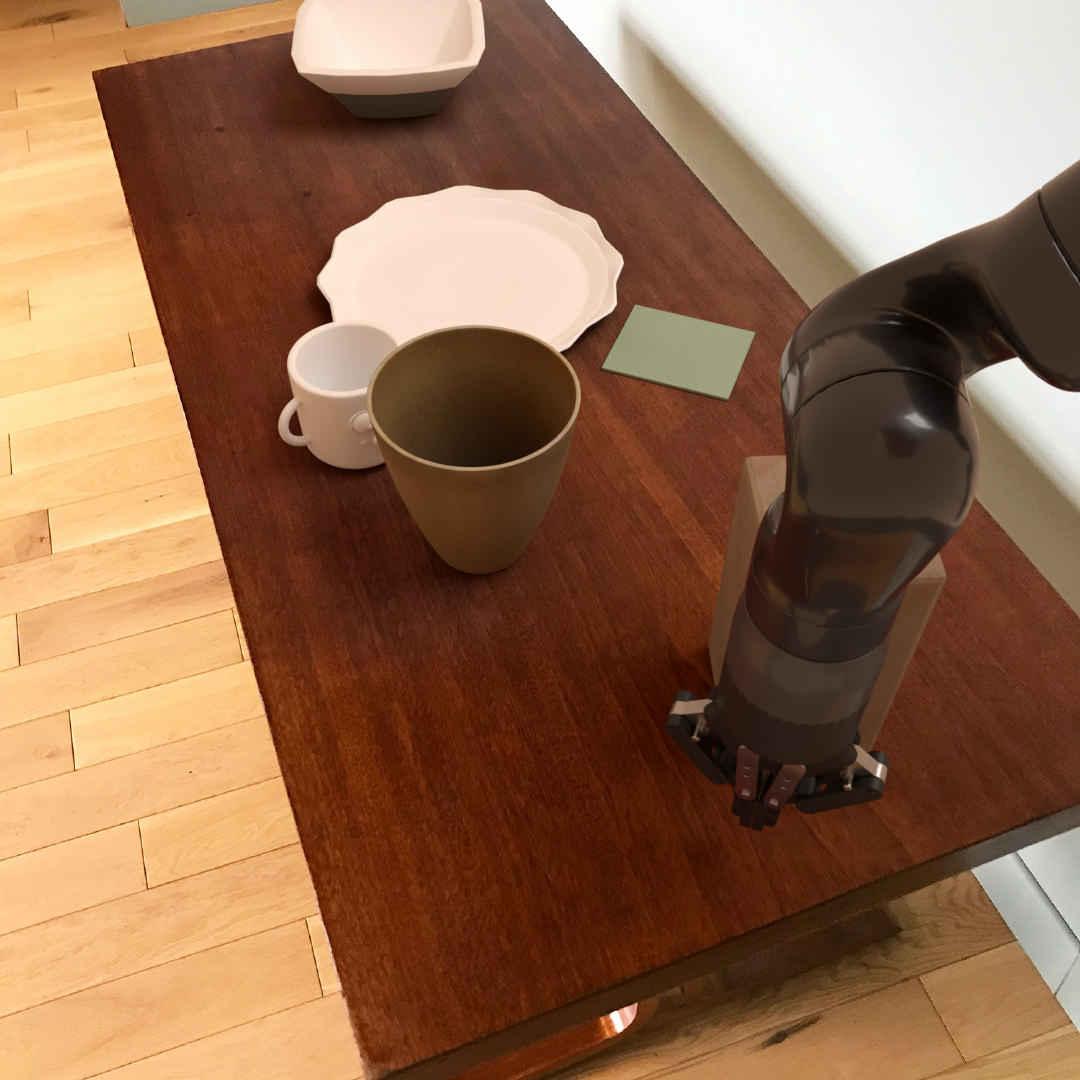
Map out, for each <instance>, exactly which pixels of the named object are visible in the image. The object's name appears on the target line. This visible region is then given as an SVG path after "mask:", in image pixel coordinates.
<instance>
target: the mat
mask: <svg viewBox="0 0 1080 1080" xmlns="http://www.w3.org/2000/svg"><path fill="white" fill-rule="evenodd" d="M755 336H756V331H751V330H749V329H748V330H747V329H743V328H738V327H734V326H730V325H726V324H721V323H716V322H713V321H709V320H704V319H700V318H695V317H691V316H687V315H682V314H678V313H674V312H669V311H666V310H660V309H656V308H652V307H648V306H643V305H639V304H634V306H633V308H632V310H631V312H630V313H629V315H628V316H627V319H626V321H625V322H624V325H623V326H622V327H621V330H620V332H619V334H618V337H617V338H616V340H615V342H614V343H613V345H612V346H611V349H610V351H609V353H608V354H607V356H606V358H605V360H604V362H603V364H602V365H601V370H602V371H604V372H607V373H608V372H609V373H613V374H616V375H621V376H623V377H629V378H631V379H632V378H633V379H637V380H641V381H645V382H648V383H649V382H650V383H653V384H658V385H661V386H664V387H669V388H674V389H678V390H680V391H684V392H685V391H686V392H690V393H693V394H697V395H702V396H705V397H706V396H707V397H710V398H713V399H718V400H721V401H725V402H728V401H729V399H730V396H731V394H732V392H733V390H734V387H735V385H736V382H737V379H738V377H739V375H740V372H741V370H742V368H743V365H744V363H745V360H746V358H747V355H748V353H749V350H750V348H751V345H752V343H753V341H754V338H755Z"/></svg>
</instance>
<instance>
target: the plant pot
mask: <svg viewBox="0 0 1080 1080" xmlns="http://www.w3.org/2000/svg"><path fill="white" fill-rule="evenodd" d="M581 390H582V389H581V385H580V381H579V378H578V375H577V374H576V371H575V370H574V368H573V366H572V365H571V363H570V362H569V360H568V359H567V358H566V357H565V356H564V355H563V354H562V352H561V353H559V352H558V351H557V350H556V349H554V348H553V347H552V346H550V345H549V344H548V343H546V342H544V341H542V340H541V339H539V338H536V337H534V336H532V335H529V334H527V333H524V332H520V331H517V330H513V329H508V328H503V327H498V326H488V325H463V326H455V327H448V328H443V329H438V330H434V331H431V332H428V333H425V334H422V335H420V336H417V337H415V338H413V339H411V340H409V341H407V342H405V343H403V344H402V345H400V346H399V347H397V348H396V349H395V350H393V351H392V352H391V353H390V354H389V355H387V356H386V357H385V358H384V359H383V361H382V362H381V363H380V364H379V366H378V367H377V368H376V370H375V371H374V373H373V375H372V377H371V379H370V382H369V385H368V388H367V393H366V405H367V411H368V415H369V419H370V422H371V425H372V428H373V431H374V433H375V436H376V439H377V442H378V445H379V447H380V450H381V453H382V456H383V458H384V461H385V463H384V464H385V465H386V467H387V470H388V473H389V475H390V477H391V479H392V481H393V484H394V485H395V488H396V490H397V492H398V493H399V495H400V497H401V500H402V501H403V503H404V505H405V507H406V508H407V511H408V513H409V514H410V516H411V518H412V519H413V521H414V522H415V524H416V525H417V527H418V529H419V530H420V531H421V533H422V534H423V536H424V537H425V539H426V540H427V542H428V543H429V544H430V545H431V547H432V548H433V549H434V551H435V552H436V554H438V556H439V557H440V558H441V559H442V560H443V561H444V562H445V563H446V564H447V565H449V566H450V567H451V568H453V569H455V570H457V571H460V572H463V573H467V574H470V575H471V574H472V575H488V574H493V573H497V572H499V571H502V570H505V569H506V568H509V567H510V566H511V565H513V564H514V563H515V562H517V560H519V558H520V557H521V556H522V555H523V553H524V551H525V550H526V549H527V547H528V545H529V544H530V542H531V540H532V538H533V537H534V535H535V533H536V532H537V530H538V529H539V526H540V524H541V523H542V520H543V519H544V517H545V515H546V512H547V511H548V508H549V506H550V504H551V501H552V500H553V497H554V495H555V491H556V489H557V487H558V485H559V482H560V479H561V477H562V473H563V471H564V467H565V464H566V461H567V458H568V454H569V451H570V448H571V444H572V441H573V440H572V439H573V435H574V431H575V428H576V425H577V419H578V416H579V411H580V407H581V399H582V394H581V393H582V391H581Z"/></svg>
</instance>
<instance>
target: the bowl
mask: <svg viewBox="0 0 1080 1080" xmlns="http://www.w3.org/2000/svg"><path fill="white" fill-rule="evenodd" d="M295 18H296V19H295V23H294V28H293V36H292V44H291V52H290V55H291V58H292V61H293V63H294V65H295V68H296V70H297V73H298V75H300V76H302V78H304V79H307V80H308V81H309V82H310V83H312V84H314V85H315V86H317V87H319V88H320V89H322V90H323V91H325V92H326V93H329V94H331V95H332V97H334V98H335V99H336V100H337V101H338V103H340V104H341V105H342V106H343V107H344V108H346V109H347V110H348V112H350V113H351V114H352V115H353V116H354V117H357V118H362V119H363V118H365V119H405V118H407V119H408V118H416V117H423V116H428V115H435V114H437V113H438V112H439V110H440V109H441V107H442V106H443V105H444V104H445V102H446V100H447V99H448V98H449V96H450V95H451V93H452V92H453V90H454V89H455V88H456V87H457V86H459V84H460V83H462V81H464V80H465V79H466V77H468V75H470V74H471V73H472V72H473V71H474V70H475V69H476V68H478V66H479V63H480V61H481V59H482V56H483V54H484V51H485V50H486V38H485V22H484V14H483V7H482V2H481V0H304V1H302V4H301V5H300V6H299V8H298V9H297V11H296V17H295Z"/></svg>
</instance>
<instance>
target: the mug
mask: <svg viewBox="0 0 1080 1080" xmlns="http://www.w3.org/2000/svg"><path fill="white" fill-rule="evenodd" d="M402 344H403V342H402V340H401V339H400V337H399V336H398V335H397V334H396V333H395V332H393V331H392V330H391V329H389V328H387V327H385V326H383V325H380V324H378V323H374V322H370V321H364V320H343V321H337V322H333V321H332V322H329V323H325V324H323V325H320V326H318V327H315V328H313V329H311V330H309V331H308V332H307V333H305V334H304V335H302V336H301V337H299V339H297V340H296V342H295V343H294V344H293V346H292V347H291V349H290V350H289V353H288V355H287V356H288V357H287V360H286V368H287V374H288V378H289V382H290V383H289V384H290V387H291V392H292V395H293V398H292V399H291V400H290V401H289V402H288V403H287V404H286V405H285V406H284V408H283V409H282V411H281V413H280V415H279V418H278V423H277V429H278V433H279V436H280V438H281V439H282V440H283V441H284V442H285V443H286V444H288V445H290V446H294V447H305V446H306V447H307V449H308V450H309V451H310V452H311V453H312V454H313V456H315V457H316V458H317V459H319V460H320V461H322V462H323V463H325V464H328V465H330V466H333V467H336V468H341V469H346V470H347V469H348V470H361V469H368V468H372V467H373V468H374V467H376V466H380V465H383V464H386V463H385V461H384V458H383V456H382V453H381V450H380V447H379V445H378V442H377V439H376V436H375V433H374V431H373V428H372V425H371V422H370V419H369V415H368V411H367V405H366V393H367V388H368V385H369V382H370V379H371V377H372V375H373V373H374V371H375V370H376V368H377V367H378V366H379V364H380V363H381V362H382V361H383V359H384V358H385V357H386V356H387V355H389V354H390V353H391V352H392V351H393V350H395V349H396V348H397V347H399V346H400V345H402ZM295 412H296V413H297V416H298V422H299V425H300V428H301V433H302V435H294V434H292V433H291V431H290V428H289V425H290V420H291V419H292V416H293V415H294V414H295Z"/></svg>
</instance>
